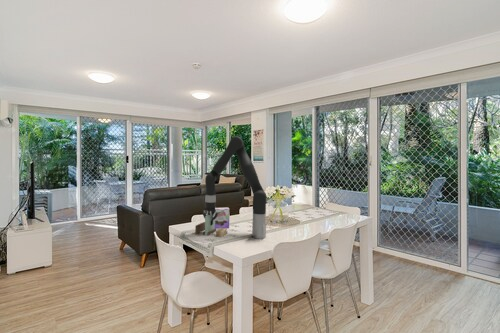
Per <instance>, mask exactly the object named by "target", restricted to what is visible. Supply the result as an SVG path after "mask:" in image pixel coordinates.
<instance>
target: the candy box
mask: <svg viewBox="0 0 500 333" xmlns="http://www.w3.org/2000/svg"><path fill="white" fill-rule="evenodd" d="M215 209H216V211H217V212H219V214H218V216H217V217H216V219H215V229H216V230H218V229H219V228H227V229H230V212H231V211H230V208H229V207H216V208H215Z"/></svg>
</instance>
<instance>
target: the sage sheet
mask: <svg viewBox="0 0 500 333" xmlns="http://www.w3.org/2000/svg"><path fill="white" fill-rule="evenodd" d="M206 215H207V214H206ZM214 216H215V213H214ZM204 222H205V230H204V232H205V235H204V236H207V233H208V232H210V231H212V230H214V229H215V219H214V220H213V225H211V217H210V215H207V216H205V218H204Z"/></svg>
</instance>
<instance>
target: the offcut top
mask: <svg viewBox="0 0 500 333" xmlns="http://www.w3.org/2000/svg"><path fill="white" fill-rule="evenodd" d="M226 231H227V232H228V228H218V229H216V232H215V234H221V235H223V234H224V233H225V232H226Z"/></svg>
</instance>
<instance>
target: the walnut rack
mask: <svg viewBox="0 0 500 333" xmlns="http://www.w3.org/2000/svg"><path fill="white" fill-rule="evenodd" d="M194 227H195V232H194V233H195V235H198V234H199V233H202V235H203V236H211V235H212V234H214V233H216V231H217V229H214V230H212V231H210V232H208V233H207V235H205V221H203V222H200V223H198V224H196V225H195V226H194Z"/></svg>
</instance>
